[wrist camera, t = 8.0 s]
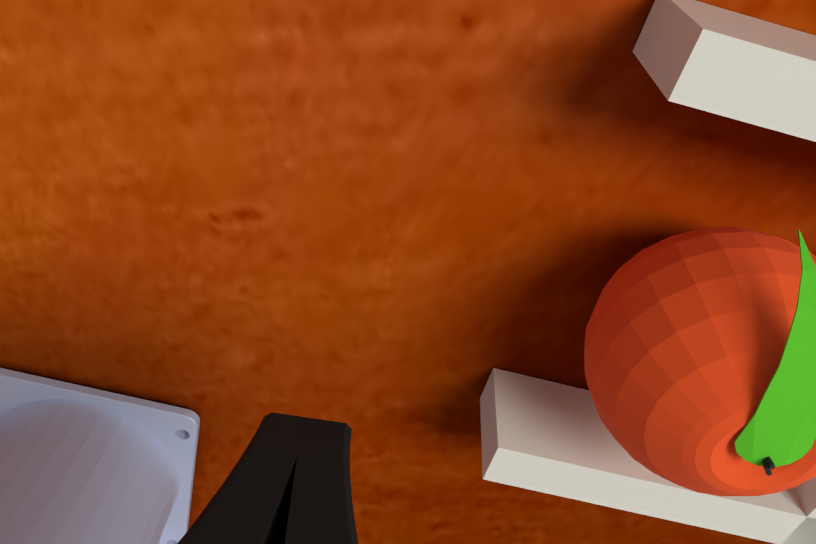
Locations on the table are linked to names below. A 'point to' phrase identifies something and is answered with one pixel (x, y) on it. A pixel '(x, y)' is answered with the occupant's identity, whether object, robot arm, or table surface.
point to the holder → (573, 407)
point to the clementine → (711, 360)
